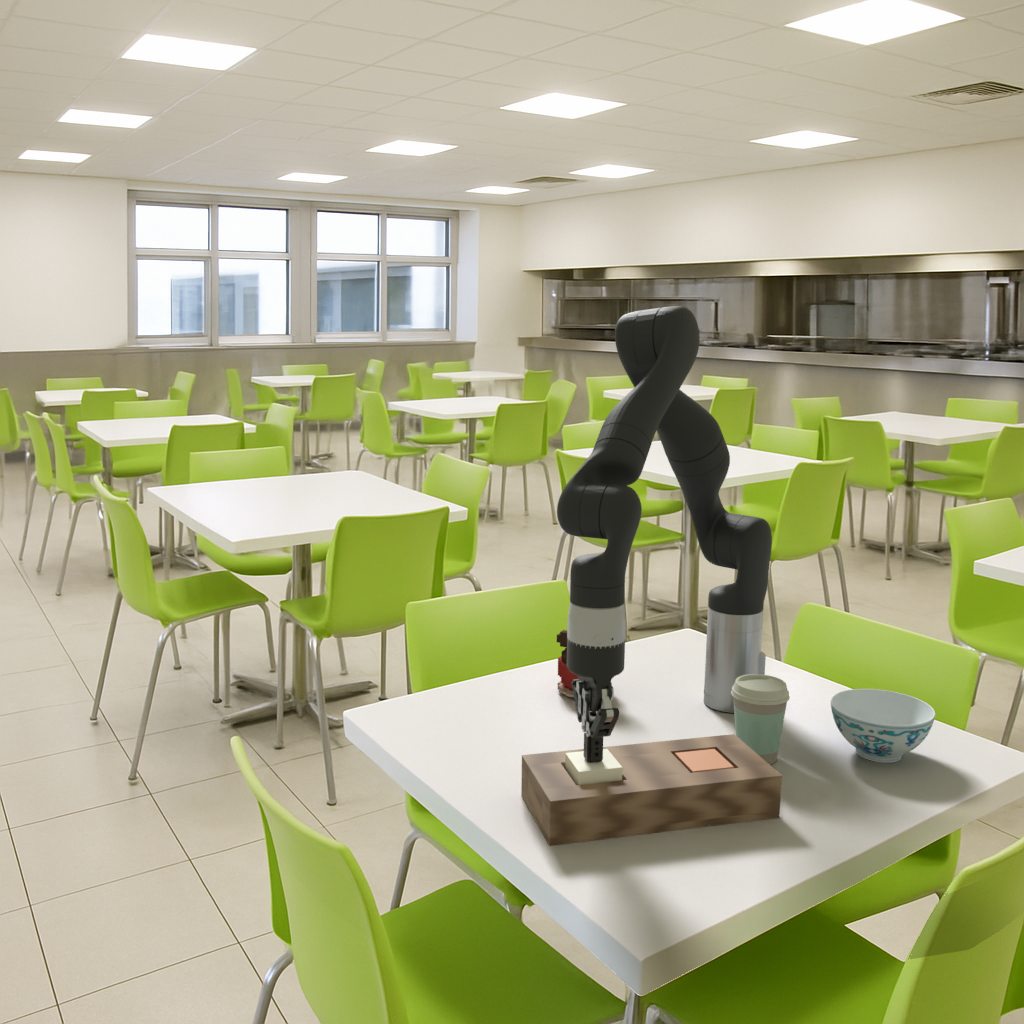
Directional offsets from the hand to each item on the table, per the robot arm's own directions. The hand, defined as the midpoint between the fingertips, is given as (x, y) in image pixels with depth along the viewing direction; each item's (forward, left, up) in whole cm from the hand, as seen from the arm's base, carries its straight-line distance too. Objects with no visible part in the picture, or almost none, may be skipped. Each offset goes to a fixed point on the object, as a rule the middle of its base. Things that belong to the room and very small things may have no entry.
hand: (592, 760), depth 135 cm
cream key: (0, 0, -4) cm, 4 cm away
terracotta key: (-16, 0, -6) cm, 17 cm away
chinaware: (-49, -8, -8) cm, 50 cm away
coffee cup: (-30, -11, -8) cm, 33 cm away
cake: (-13, -43, -8) cm, 46 cm away
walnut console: (-8, 0, -8) cm, 11 cm away
